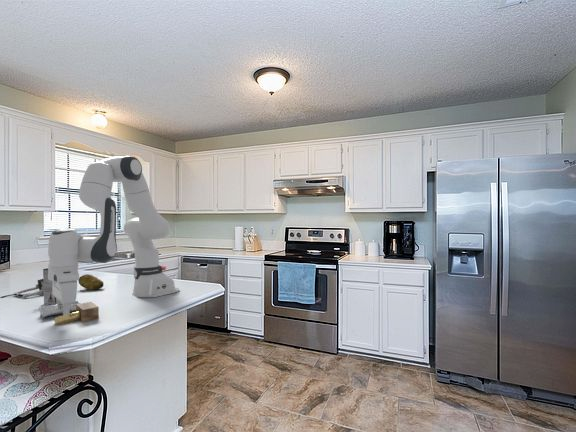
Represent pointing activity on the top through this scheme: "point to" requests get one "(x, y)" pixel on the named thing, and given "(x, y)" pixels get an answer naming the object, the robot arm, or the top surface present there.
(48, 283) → the coffee box
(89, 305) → the slotted wooden block
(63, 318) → the axle
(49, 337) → the top surface
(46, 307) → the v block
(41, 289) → the bike brake
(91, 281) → the potato
